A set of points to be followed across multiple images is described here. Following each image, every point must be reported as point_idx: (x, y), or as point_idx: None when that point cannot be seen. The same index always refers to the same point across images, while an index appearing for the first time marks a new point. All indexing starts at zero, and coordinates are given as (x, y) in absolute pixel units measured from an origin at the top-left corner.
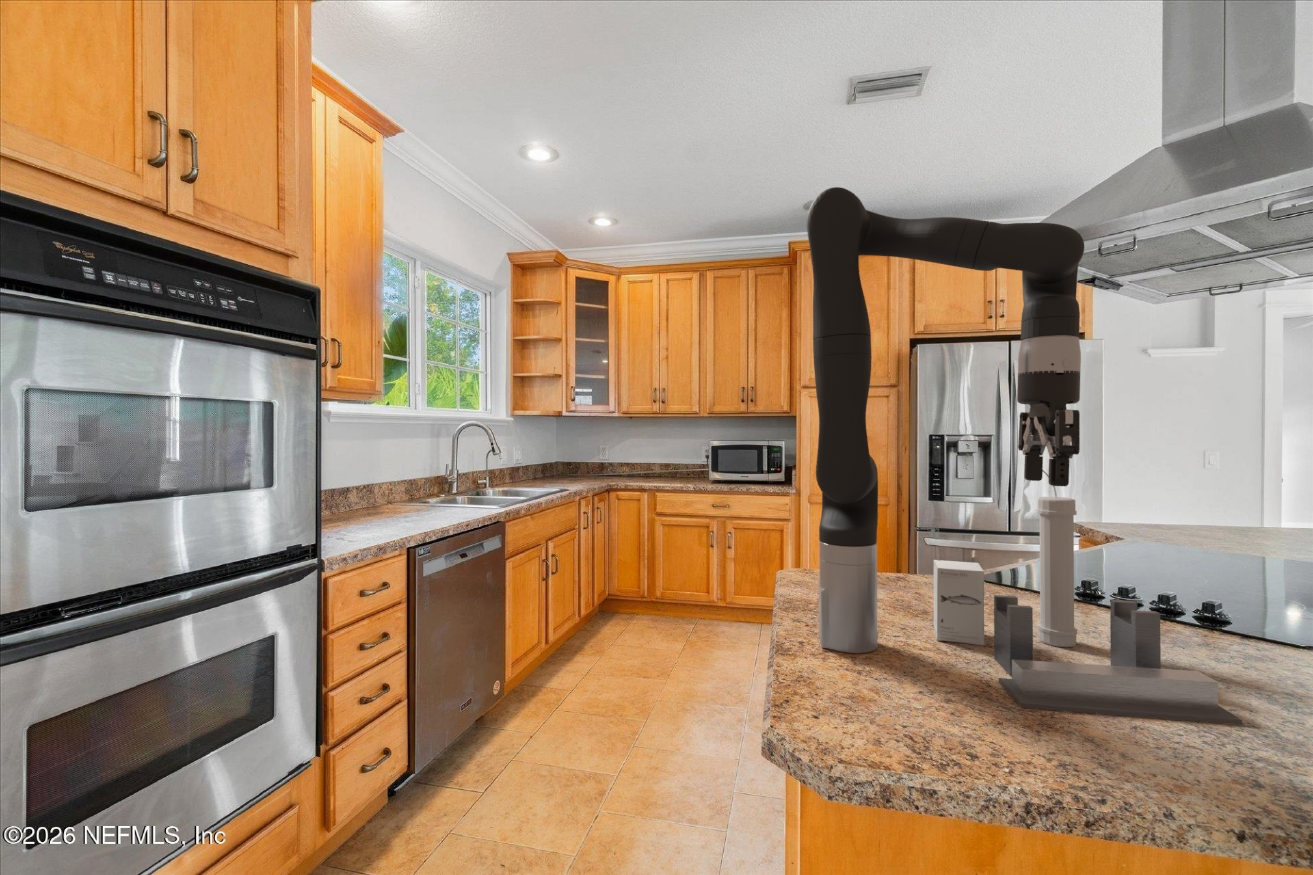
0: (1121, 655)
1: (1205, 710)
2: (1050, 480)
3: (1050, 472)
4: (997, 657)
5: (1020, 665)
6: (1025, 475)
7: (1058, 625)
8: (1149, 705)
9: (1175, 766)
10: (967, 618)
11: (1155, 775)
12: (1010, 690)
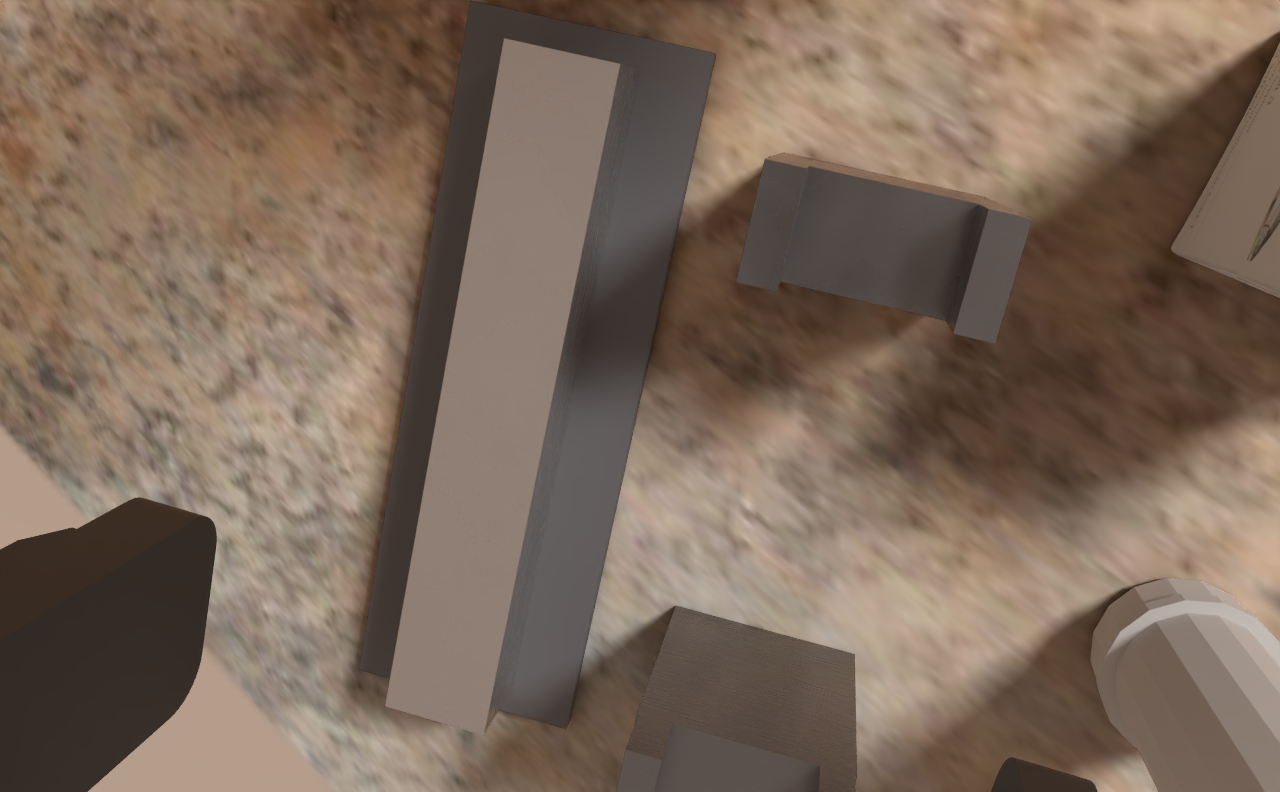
0: (770, 666)
1: None
2: (120, 509)
3: (55, 559)
4: (943, 188)
5: (549, 60)
6: (1050, 789)
7: (1136, 657)
8: None
9: (120, 238)
10: (1250, 177)
11: (70, 139)
12: (584, 27)
